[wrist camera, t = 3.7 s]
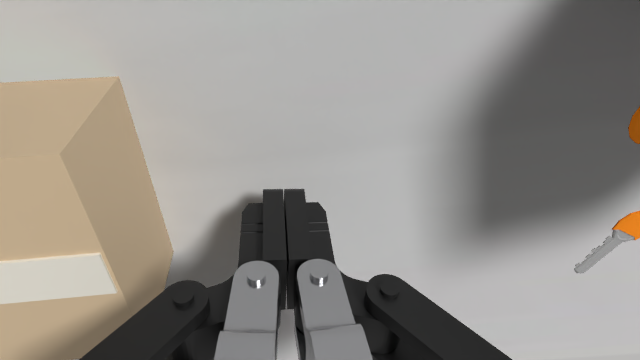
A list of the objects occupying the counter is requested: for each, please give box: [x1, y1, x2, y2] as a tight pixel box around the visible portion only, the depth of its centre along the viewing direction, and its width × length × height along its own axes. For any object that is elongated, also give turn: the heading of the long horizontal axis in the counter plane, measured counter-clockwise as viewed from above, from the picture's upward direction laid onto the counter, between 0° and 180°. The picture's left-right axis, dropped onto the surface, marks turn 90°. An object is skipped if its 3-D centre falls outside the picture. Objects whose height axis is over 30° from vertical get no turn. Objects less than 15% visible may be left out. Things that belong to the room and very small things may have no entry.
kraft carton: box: [0, 76, 174, 360], centre depth 14 cm, size 8×8×5 cm
